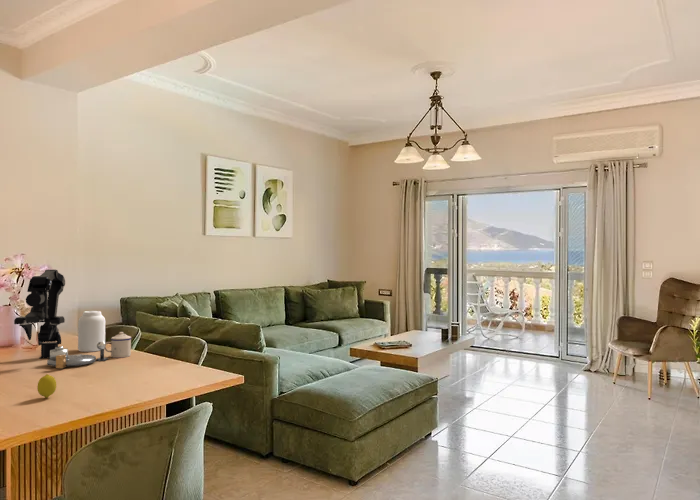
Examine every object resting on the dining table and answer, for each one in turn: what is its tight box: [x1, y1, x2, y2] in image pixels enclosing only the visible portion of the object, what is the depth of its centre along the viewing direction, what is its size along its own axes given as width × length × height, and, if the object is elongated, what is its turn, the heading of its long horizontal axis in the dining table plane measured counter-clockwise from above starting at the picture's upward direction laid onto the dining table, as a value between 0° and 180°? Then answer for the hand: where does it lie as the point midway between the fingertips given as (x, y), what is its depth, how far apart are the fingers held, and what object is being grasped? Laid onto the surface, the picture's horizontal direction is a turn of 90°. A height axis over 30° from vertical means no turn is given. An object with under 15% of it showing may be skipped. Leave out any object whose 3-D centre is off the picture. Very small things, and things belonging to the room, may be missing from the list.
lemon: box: [36, 373, 57, 399], centre depth 173 cm, size 6×6×8 cm
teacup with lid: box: [104, 331, 132, 359], centre depth 247 cm, size 12×9×12 cm
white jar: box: [77, 310, 106, 353], centre depth 263 cm, size 12×12×20 cm
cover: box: [49, 345, 69, 360], centre depth 227 cm, size 7×7×5 cm
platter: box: [46, 354, 97, 369], centre depth 227 cm, size 19×22×5 cm
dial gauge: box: [95, 342, 109, 362], centre depth 237 cm, size 4×4×9 cm
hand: (39, 339), depth 227 cm, fingers open, 8 cm apart
